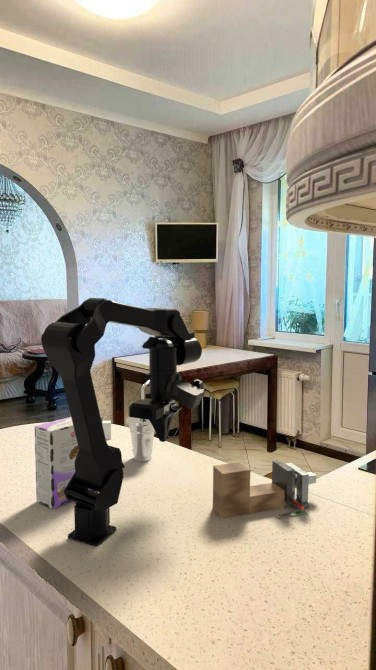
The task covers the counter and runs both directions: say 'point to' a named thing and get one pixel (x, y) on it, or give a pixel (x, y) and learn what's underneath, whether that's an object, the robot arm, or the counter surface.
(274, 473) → the grey bracket
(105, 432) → the napkin holder
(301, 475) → the gauge housing
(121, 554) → the counter surface
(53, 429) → the candy box
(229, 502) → the walnut block
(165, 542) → the counter surface
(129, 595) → the counter surface
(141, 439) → the cup with straw
